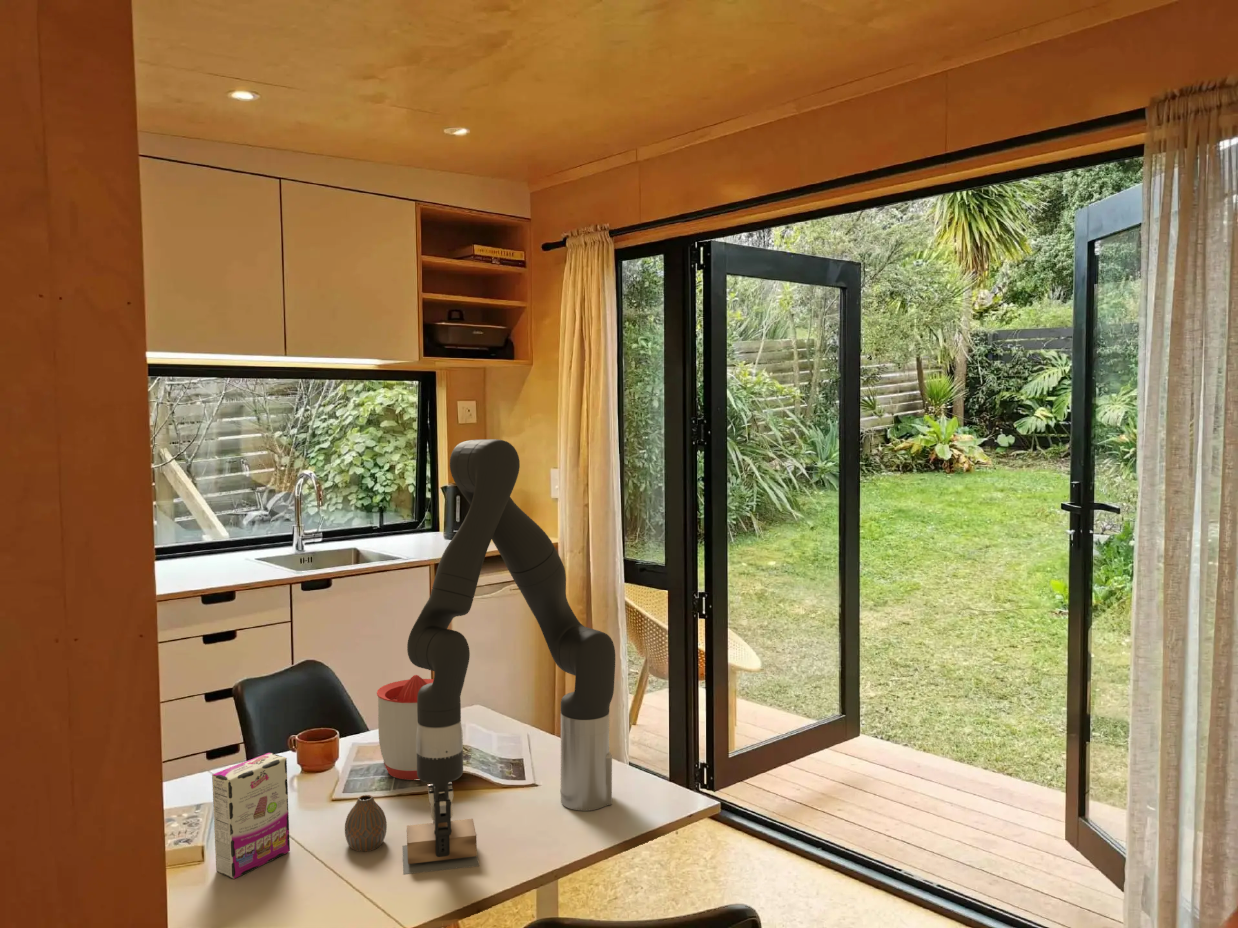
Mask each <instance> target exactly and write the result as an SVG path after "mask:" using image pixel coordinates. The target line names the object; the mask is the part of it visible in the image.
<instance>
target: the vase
mask: <svg viewBox="0 0 1238 928" xmlns="http://www.w3.org/2000/svg"><path fill="white" fill-rule="evenodd" d="M344 822H345V823H344V835H345V841H346V843H347V844H348V846H349V847H350V849H352V850H354V851H356V852H369V851H373V850H375V849H378V848H379V847H380V846H381V845H382V844H383V842H384V840H385V838H386V834H387V827H388V826H387V825H388V824H387V823H388V822H387V817H386V815H385V812H384V810H383V809H382V807H381V806H380V805H379V804H378V803H377V802H376V801H375V799H374V797H373V796H372V795H370V794H364V795H360V796H359V797H357V800H356V803H354V805H353V807H351V809H350V811H349V812H348V814H347V816H346V819H345V821H344Z"/></svg>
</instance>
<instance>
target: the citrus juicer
mask: <svg viewBox="0 0 1238 928" xmlns="http://www.w3.org/2000/svg"><path fill="white" fill-rule="evenodd" d="M433 680H434V678H433V679H432V678H422V677H421V676H420V675H418V674H414V675H412V677H410V678H409V679H404V680H398V681H393V682H390V683H387V684H385V685H383V686H381V687H379V689H377V692H376V696H377V709H378V710H377V712H378V715H377V716H378V717H377V720H378V743H379V747H380V753H381V756H382V759H383V764H384V767H385V770H386V771H387V773H388V774H389V776H392V777H394V778H396V779H398V780H399V779H400V780H410V781H412V780H413V781H415V780H414V779H419V778H418V776H417V749H416V734H417V725H418V720H417V696H418V692H419V690H420V688H421V687H422V686H424V685H426V684H429V683H433Z"/></svg>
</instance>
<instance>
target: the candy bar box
mask: <svg viewBox="0 0 1238 928" xmlns="http://www.w3.org/2000/svg"><path fill="white" fill-rule="evenodd" d="M287 759H288V758H287V757H285V756H282V755H279V754H275V753H273V752H267V753H263V755H259V756H256V757H254V758H252V759H249V760H246V761H244V762H240V763H239V764H235V765H233V766H230V767H228V768H225V769H223V770H221V771H217V772H215V773H213V774H211V776H212V777H211V779H212V800H213V802H212V803H213V804H212V805H213V824H214V825H213V827H214V828H213V829H214V846H215V847H214V848H215V849H214V850H215V852H214V853H215V869H216V872H217V873H219V874H221V875H224V876H227V877H228V878H231V879H233V880H235V879H237V878H239V877H241V876H243V875H245V874H247V873H249V872H251V871H254V870H255V869H257V868H260V867H262V866H263V865H266V864H267V863H269V862H272V861H274V860H275V859H277V858H279V857H282V856H283V855H285V854H287V853H289V852H290V851H291V845H290V843H291V842H290V818H289V817H290V815H289V814H290V813H289V792H288V791H289V790H288V789H289V788H288V785H289V784H288V765H287V764H288V763H287V762H288V760H287Z"/></svg>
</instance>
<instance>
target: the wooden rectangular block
mask: <svg viewBox="0 0 1238 928" xmlns="http://www.w3.org/2000/svg"><path fill="white" fill-rule="evenodd" d="M444 826H447V822H444V823H439V824H438V827H444ZM451 829H452V832H451V835H449V843H450V854H449V855H448V856H444V857H437V856H436V843H435V834H434V830H435V826H434V823H433V822H428V823H420V824H419V823H417V824H410V825H406V845H407V853H408V864H413V863H421V862H430V861H438V860H447V859H455V858H464V857H473V856H477V857H478V853H477V849H478V848H477V845H478V844H477V841H478V840H477V831H476V825H475V821H474V818H464V819H457V820H451Z"/></svg>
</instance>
